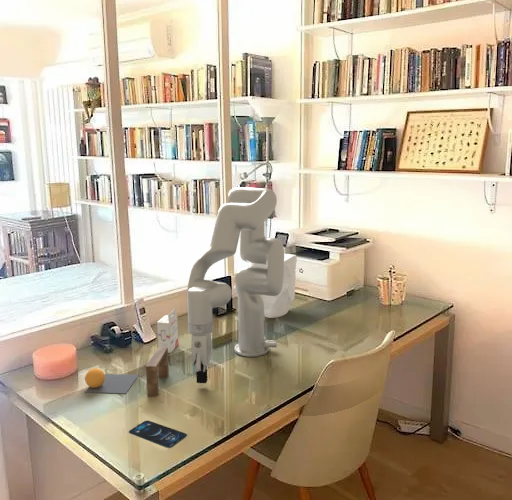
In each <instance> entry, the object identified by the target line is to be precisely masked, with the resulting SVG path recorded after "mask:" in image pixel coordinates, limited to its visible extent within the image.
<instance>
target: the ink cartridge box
mask: <svg viewBox="0 0 512 500" xmlns="http://www.w3.org/2000/svg"><path fill="white" fill-rule="evenodd" d="M156 326H157V342H158V347H168V354H171V353H172V352H173V351H174V350H175V349H176V347H178V346H179V332H178V330H179V328H178V327H179V326H178V313H177V308H175V307H174V309H173V310H171V311H170V312H169V313H168V314H165V315H164V316H162V317H161V318H160V319H159V320H158V321H157V322H156Z"/></svg>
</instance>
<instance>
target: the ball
mask: <svg viewBox="0 0 512 500" xmlns="http://www.w3.org/2000/svg"><path fill="white" fill-rule="evenodd" d="M105 374H106V373H105V372H104V371H103V370H102V369H100V368H97V367H96V368H95V367H94V368H91V369H90V370H88V371H87V372H86V373H85V377H84V380H85V384H86V385H87V387H92V388H97V387H100V386H101V385H102V384H103V383H104V381H105Z"/></svg>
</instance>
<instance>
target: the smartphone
mask: <svg viewBox="0 0 512 500" xmlns="http://www.w3.org/2000/svg"><path fill="white" fill-rule="evenodd" d="M128 434H131V435H133V436H136V437H138V438H140V439H144V440H145V441H148V442H151V443H153V444H157V445H159V446H161V447H164V448H167V449H171V448H173V447H174V446H176V445H177V444H179V443H180V442H182V440H184V439H185V438H186V437H187V436H188V434H187V433H186V432H183V431H180V430H178V429H175V428H172V427H169V426H165V425H162V424H159V423H157V422H154V421H151V420H144V421H142V422H141V423H139V424H137V425H136V426H134V427H133V428H131V429H129V431H128Z"/></svg>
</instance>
